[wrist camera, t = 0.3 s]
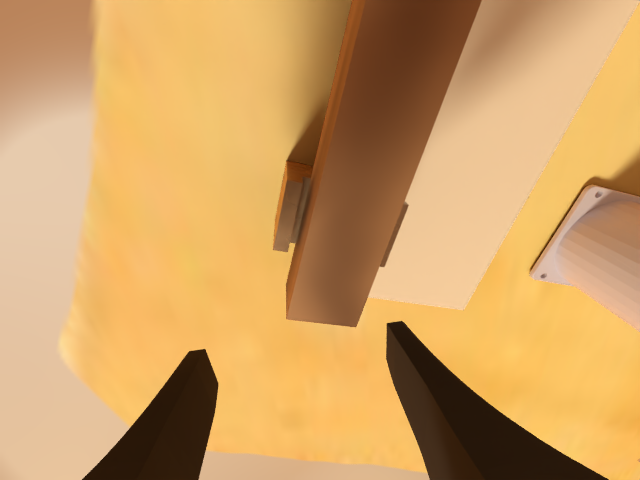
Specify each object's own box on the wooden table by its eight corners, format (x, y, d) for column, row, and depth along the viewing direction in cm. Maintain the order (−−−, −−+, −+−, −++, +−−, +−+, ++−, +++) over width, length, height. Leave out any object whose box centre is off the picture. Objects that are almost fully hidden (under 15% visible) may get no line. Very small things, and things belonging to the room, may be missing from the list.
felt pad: (768, -240, 13) (782, -249, 12) (461, 307, 26) (463, 310, 25) (583, -374, 11) (593, -390, 10) (350, 291, 24) (351, 294, 23)
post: (385, 182, 20) (408, 205, 16) (367, 235, 22) (384, 267, 18) (286, 160, 18) (286, 179, 15) (275, 219, 20) (273, 249, 16)
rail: (590, -421, 9) (735, -661, 6) (346, 292, 20) (356, 327, 17) (471, -513, 8) (573, -837, 5) (286, 284, 19) (286, 319, 16)
